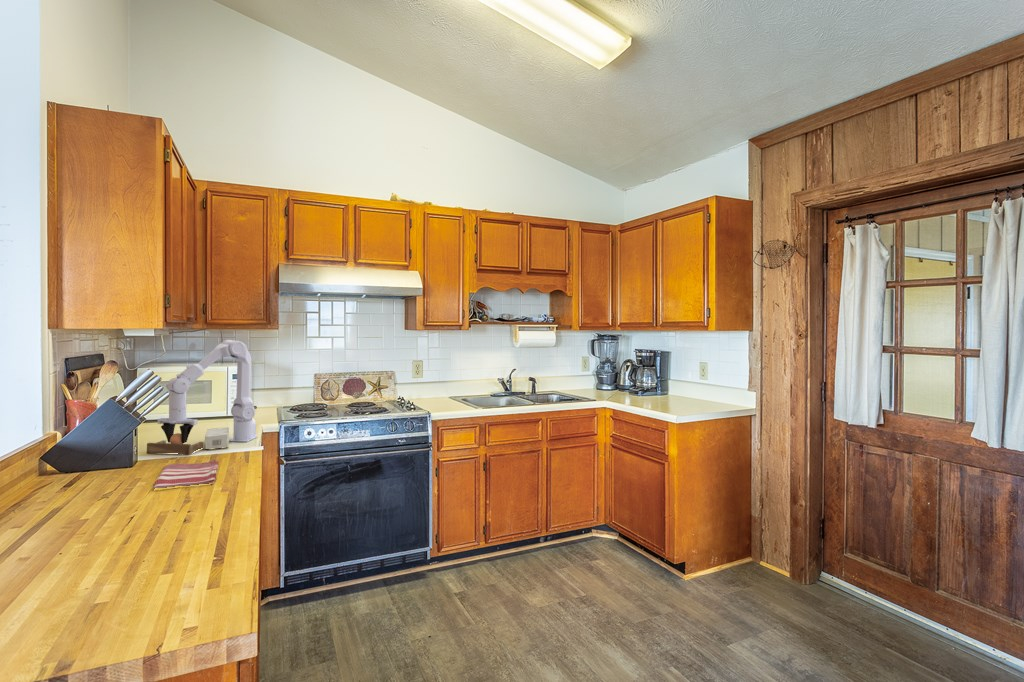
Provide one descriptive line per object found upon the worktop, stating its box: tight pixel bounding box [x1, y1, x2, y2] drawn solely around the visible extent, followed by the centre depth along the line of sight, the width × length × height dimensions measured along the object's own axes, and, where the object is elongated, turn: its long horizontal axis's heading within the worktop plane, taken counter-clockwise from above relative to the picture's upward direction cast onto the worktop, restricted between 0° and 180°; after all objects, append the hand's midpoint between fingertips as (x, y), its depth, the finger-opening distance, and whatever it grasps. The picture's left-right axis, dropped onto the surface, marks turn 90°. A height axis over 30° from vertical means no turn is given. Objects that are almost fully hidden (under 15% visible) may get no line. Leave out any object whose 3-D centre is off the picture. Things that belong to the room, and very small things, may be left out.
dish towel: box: [153, 460, 220, 489], centre depth 169 cm, size 17×23×3 cm
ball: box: [170, 432, 184, 444], centre depth 199 cm, size 5×5×5 cm
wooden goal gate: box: [146, 439, 204, 456], centre depth 198 cm, size 9×17×4 cm, turn 90°
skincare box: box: [204, 426, 230, 450], centre depth 209 cm, size 8×6×15 cm
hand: (177, 442), depth 199 cm, fingers closed on ball, 5 cm apart
